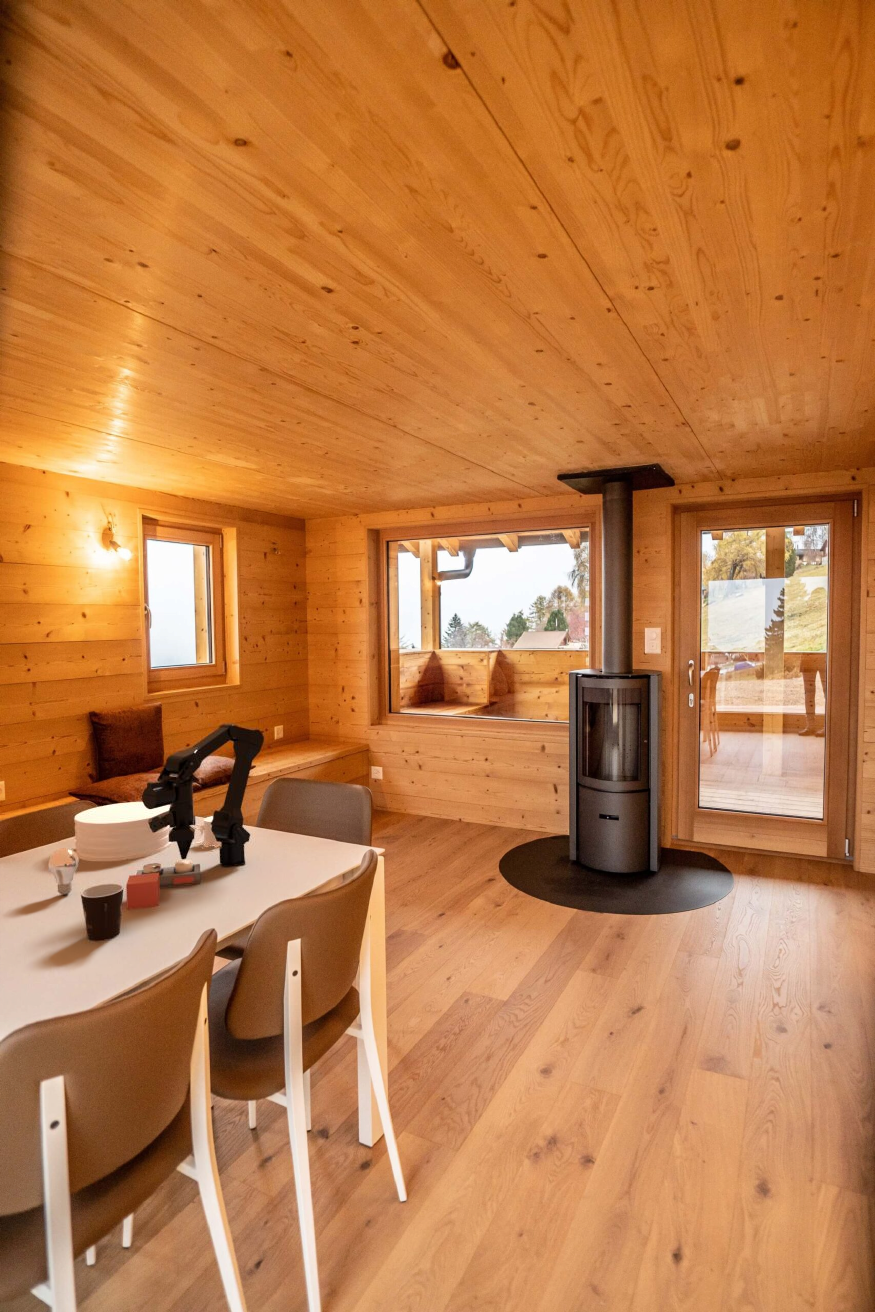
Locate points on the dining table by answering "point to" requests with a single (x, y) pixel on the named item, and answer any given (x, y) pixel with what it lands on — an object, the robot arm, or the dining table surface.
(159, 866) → the chrome round knob
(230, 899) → the dining table surface
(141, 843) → the plate stack
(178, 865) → the cream switch
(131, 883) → the cap
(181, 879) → the switch box
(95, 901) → the coffee mug
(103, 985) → the dining table surface
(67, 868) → the light bulb
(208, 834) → the tree stump
